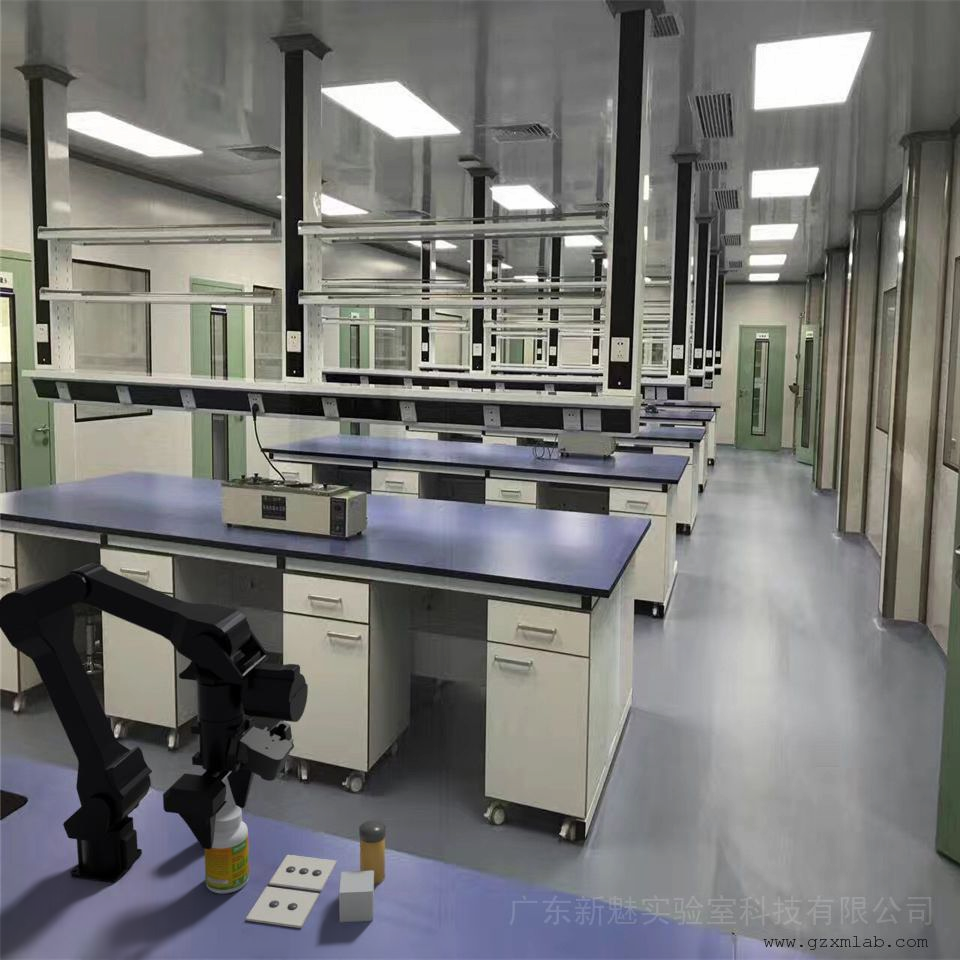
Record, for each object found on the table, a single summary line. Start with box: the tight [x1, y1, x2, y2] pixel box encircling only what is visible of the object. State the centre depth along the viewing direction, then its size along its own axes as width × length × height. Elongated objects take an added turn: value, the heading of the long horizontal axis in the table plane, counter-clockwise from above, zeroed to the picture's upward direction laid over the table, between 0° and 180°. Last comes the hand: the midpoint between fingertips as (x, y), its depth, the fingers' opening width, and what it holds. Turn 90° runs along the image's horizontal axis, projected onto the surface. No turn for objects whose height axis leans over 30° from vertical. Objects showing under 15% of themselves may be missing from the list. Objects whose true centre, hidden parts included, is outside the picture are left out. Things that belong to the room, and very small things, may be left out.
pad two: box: [245, 886, 320, 929], centre depth 103 cm, size 7×6×1 cm
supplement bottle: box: [204, 803, 250, 895], centre depth 107 cm, size 5×5×10 cm
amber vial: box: [358, 820, 387, 886], centre depth 108 cm, size 3×3×7 cm
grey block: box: [338, 870, 375, 923], centre depth 102 cm, size 4×4×4 cm
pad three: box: [268, 854, 338, 892], centre depth 109 cm, size 7×6×1 cm
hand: (224, 826), depth 106 cm, fingers open, 9 cm apart
